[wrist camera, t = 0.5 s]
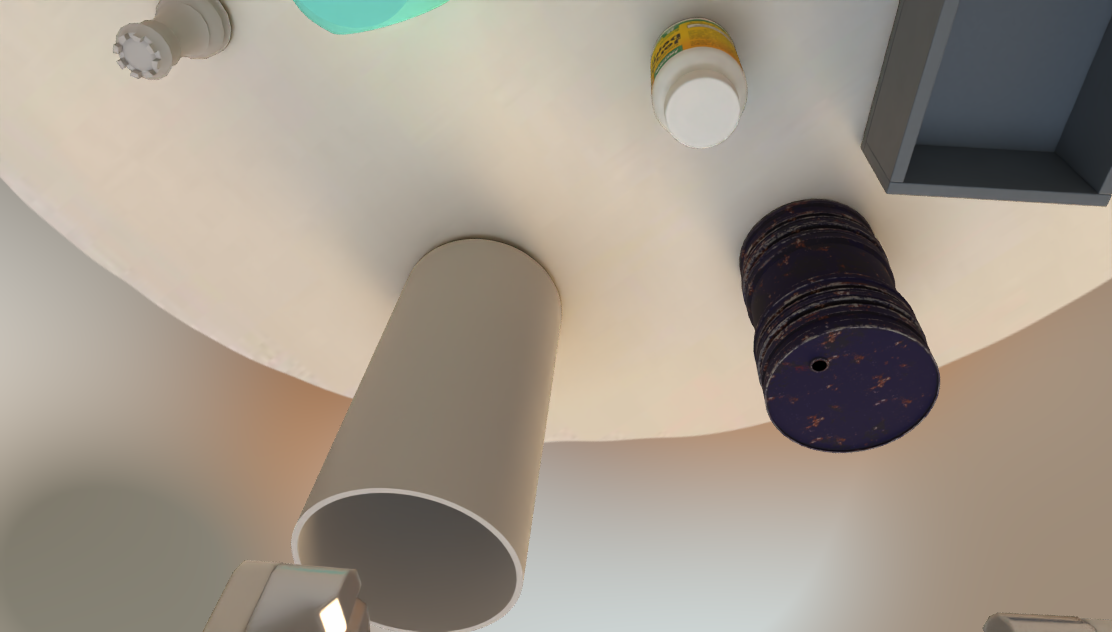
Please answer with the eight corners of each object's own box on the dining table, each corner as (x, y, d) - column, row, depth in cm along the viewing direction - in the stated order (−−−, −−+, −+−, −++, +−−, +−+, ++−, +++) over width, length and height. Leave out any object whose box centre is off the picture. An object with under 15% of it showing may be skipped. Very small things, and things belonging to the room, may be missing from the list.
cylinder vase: (540, 379, 66) (494, 654, 45) (396, 341, 65) (284, 605, 44) (581, 260, 58) (549, 525, 38) (420, 214, 57) (299, 461, 37)
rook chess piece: (222, 66, 52) (162, 110, 46) (158, 28, 51) (87, 67, 44) (243, 9, 50) (184, 46, 43) (176, -32, 49) (105, -1, 42)
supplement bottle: (713, 111, 51) (726, 175, 43) (637, 84, 50) (636, 143, 42) (750, 32, 48) (771, 85, 40) (670, 2, 47) (675, 50, 39)
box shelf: (937, -141, 42) (982, -126, 36) (1181, -133, 41) (1265, -117, 35) (860, 147, 51) (886, 194, 46) (1056, 159, 51) (1106, 207, 45)
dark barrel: (905, 258, 56) (978, 396, 44) (795, 334, 61) (832, 477, 48) (819, 170, 52) (872, 292, 40) (709, 257, 57) (727, 390, 45)
